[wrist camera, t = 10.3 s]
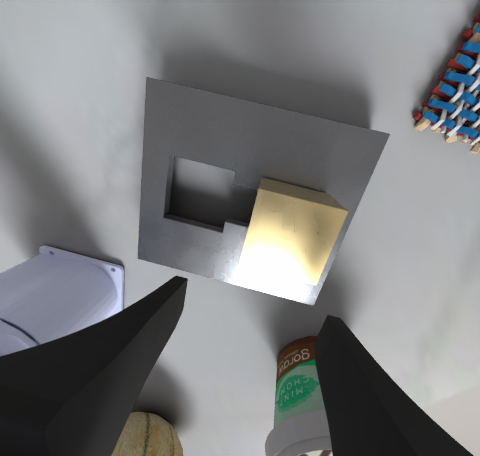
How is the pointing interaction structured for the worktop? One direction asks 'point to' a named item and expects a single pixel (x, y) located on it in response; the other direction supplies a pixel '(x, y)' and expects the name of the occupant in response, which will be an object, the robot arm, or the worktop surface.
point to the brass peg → (292, 231)
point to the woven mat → (457, 95)
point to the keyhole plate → (242, 176)
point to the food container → (298, 405)
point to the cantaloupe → (147, 437)
